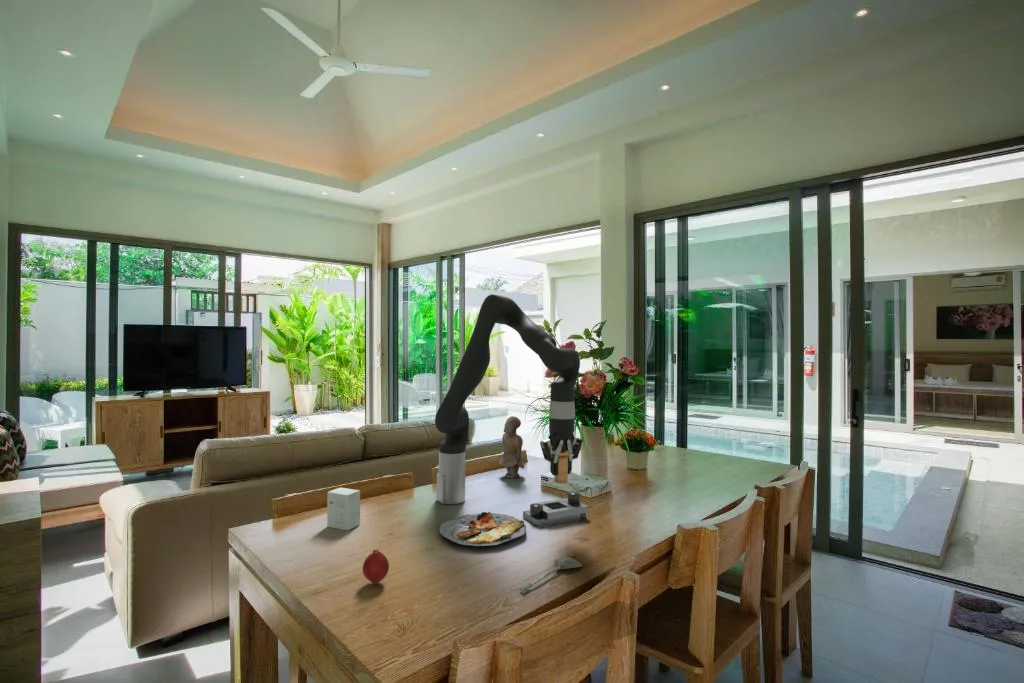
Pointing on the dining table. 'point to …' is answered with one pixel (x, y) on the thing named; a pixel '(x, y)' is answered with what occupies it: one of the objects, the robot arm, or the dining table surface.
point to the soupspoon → (555, 569)
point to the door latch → (556, 511)
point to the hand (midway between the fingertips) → (560, 473)
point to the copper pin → (562, 467)
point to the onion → (375, 567)
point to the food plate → (484, 529)
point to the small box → (343, 508)
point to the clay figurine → (512, 447)
